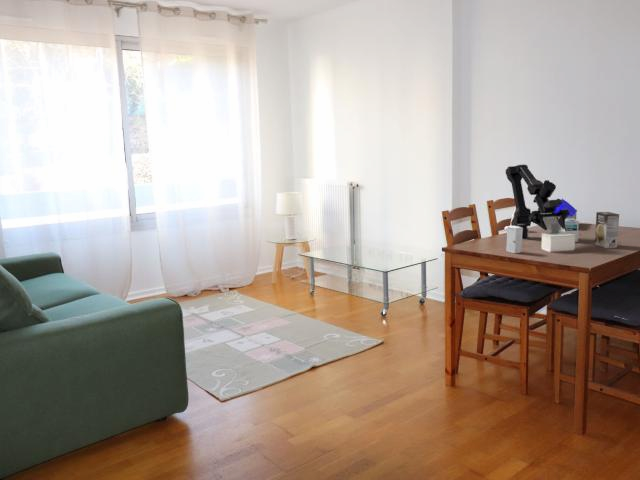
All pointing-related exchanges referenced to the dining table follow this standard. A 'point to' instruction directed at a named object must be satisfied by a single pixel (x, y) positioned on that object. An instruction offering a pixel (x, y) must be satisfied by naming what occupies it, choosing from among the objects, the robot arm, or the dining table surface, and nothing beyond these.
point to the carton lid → (556, 231)
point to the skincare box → (514, 239)
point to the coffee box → (606, 229)
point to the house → (564, 205)
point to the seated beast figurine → (511, 220)
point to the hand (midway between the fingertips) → (555, 229)
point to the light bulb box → (571, 227)
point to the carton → (558, 243)
